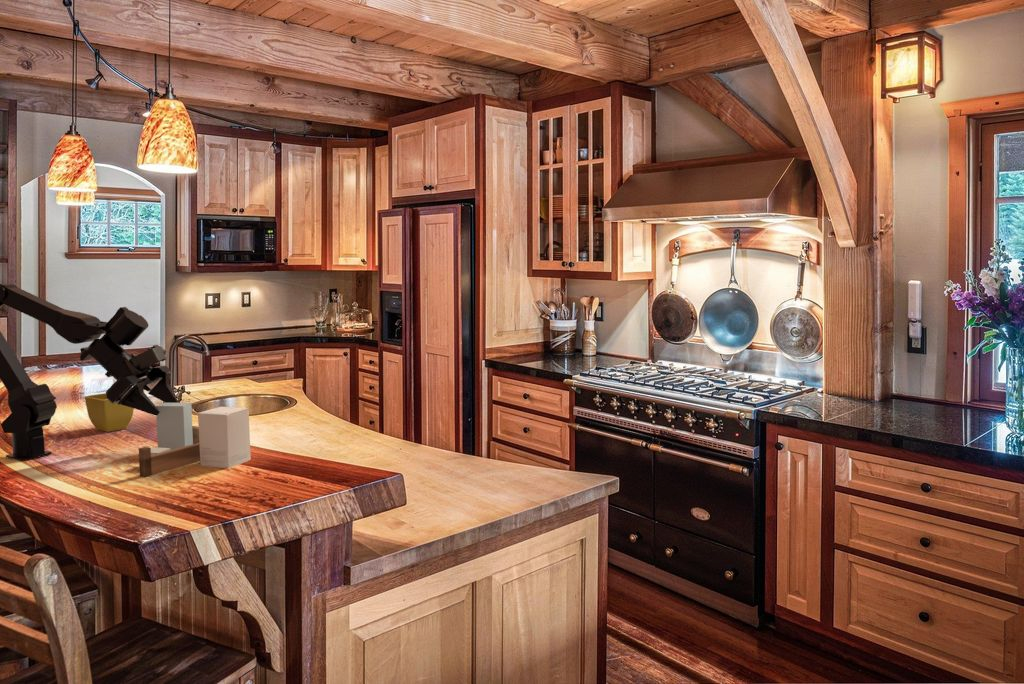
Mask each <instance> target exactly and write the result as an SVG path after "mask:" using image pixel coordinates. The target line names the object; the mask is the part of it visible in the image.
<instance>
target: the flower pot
mask: <svg viewBox="0 0 1024 684" xmlns="http://www.w3.org/2000/svg"><path fill="white" fill-rule="evenodd" d="M84 401H85V407H86V411H87V416H88V419H89V420H90V422H91V424H92V425H93V426H94V428H95V429H96V430H99V431H102V432H106V433H109V432H113V431H115V432H116V431H118V430H119V431H120V430H124V429H126V428H127V427H128V426H129V425H130V423H131V421H132V418H133V415H134V412H135V411H134V410H135V409H134V408H131V407H128V406H124V405H119V404H118V402H117V403H114V404H112V403H111V402H110V401H109V400H108V399H107V398H106V392H104V393H98V394H91V395H90V394H89V395H85V396H84Z"/></svg>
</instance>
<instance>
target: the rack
mask: <svg viewBox="0 0 1024 684" xmlns="http://www.w3.org/2000/svg"><path fill="white" fill-rule="evenodd" d="M192 431H193V444H192V445H188V446H185V447H181V448H177V449H173V450H169V451H166V452H162V453H158V454H154V455H151V448H152V447H148V446H143V447H139V448H138V463H139V465H138V467H139V477H143V478H147V477H151V476H155V475H157V474H161V473H165V472H168V471H172V470H175V469H178V468H181V467H185V466H189V465H192V464H194V463H199V462H200V445H199V426H196V425H192Z"/></svg>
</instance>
